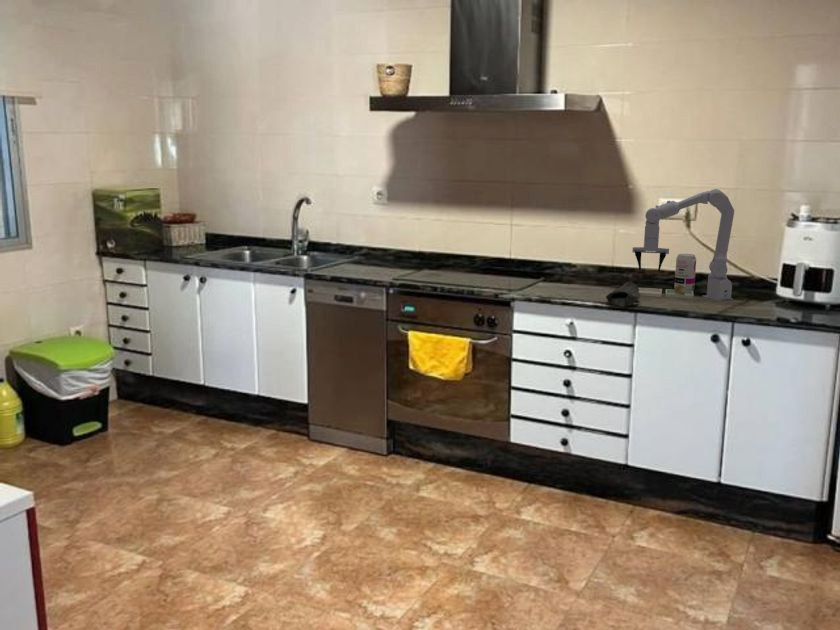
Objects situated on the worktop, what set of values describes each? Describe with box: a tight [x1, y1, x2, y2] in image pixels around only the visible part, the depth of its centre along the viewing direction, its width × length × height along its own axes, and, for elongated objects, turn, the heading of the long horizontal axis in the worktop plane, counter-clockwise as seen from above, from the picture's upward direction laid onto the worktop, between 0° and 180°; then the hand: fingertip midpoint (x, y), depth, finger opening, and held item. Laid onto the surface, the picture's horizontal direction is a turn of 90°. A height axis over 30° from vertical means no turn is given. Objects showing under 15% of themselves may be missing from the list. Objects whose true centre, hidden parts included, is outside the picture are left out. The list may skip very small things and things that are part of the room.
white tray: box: [638, 287, 663, 298], centre depth 344 cm, size 11×11×2 cm
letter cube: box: [673, 285, 685, 295], centre depth 340 cm, size 4×4×4 cm
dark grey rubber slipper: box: [605, 281, 641, 308], centre depth 331 cm, size 13×7×25 cm
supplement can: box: [674, 253, 697, 291], centre depth 354 cm, size 8×8×15 cm
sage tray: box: [665, 288, 695, 300], centre depth 341 cm, size 11×11×2 cm
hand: (649, 270), depth 342 cm, fingers open, 7 cm apart
